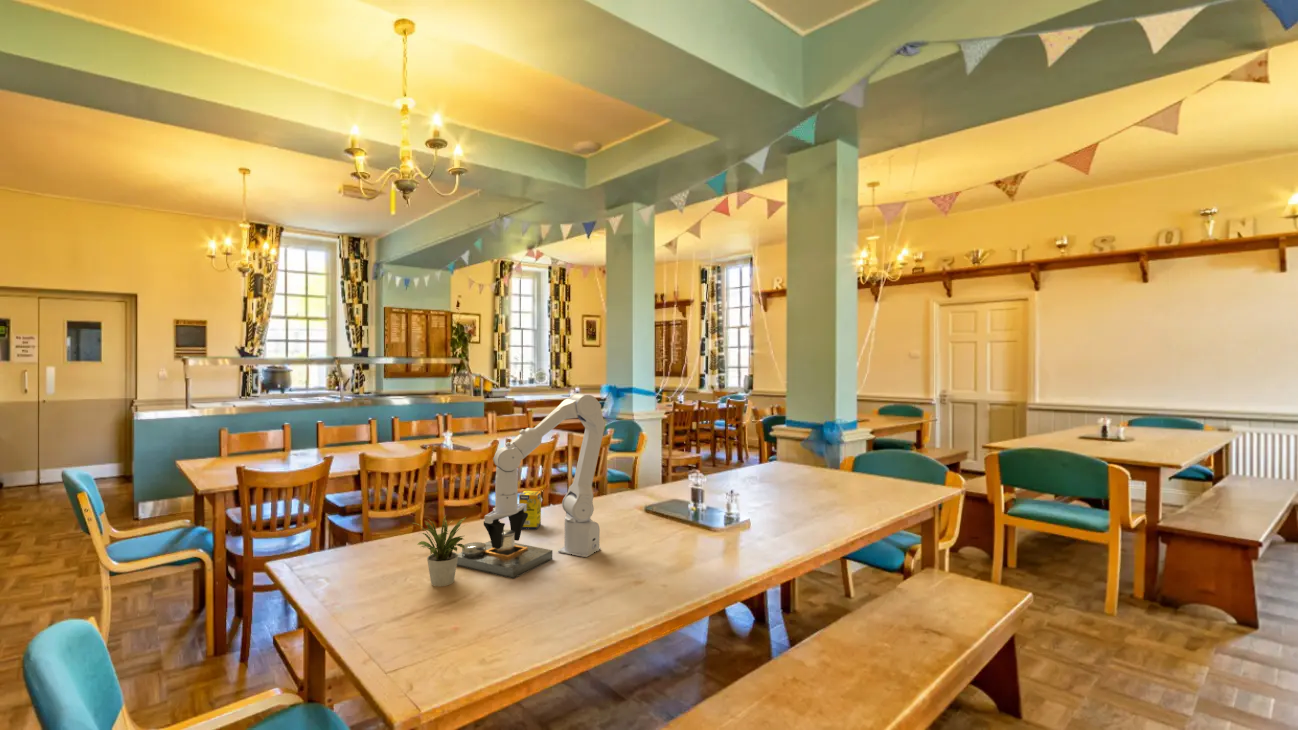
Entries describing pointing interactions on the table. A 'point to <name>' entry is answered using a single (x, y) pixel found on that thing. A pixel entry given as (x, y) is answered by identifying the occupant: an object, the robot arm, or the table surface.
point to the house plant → (442, 553)
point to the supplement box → (531, 508)
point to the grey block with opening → (502, 559)
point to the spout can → (506, 542)
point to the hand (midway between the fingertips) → (506, 543)
